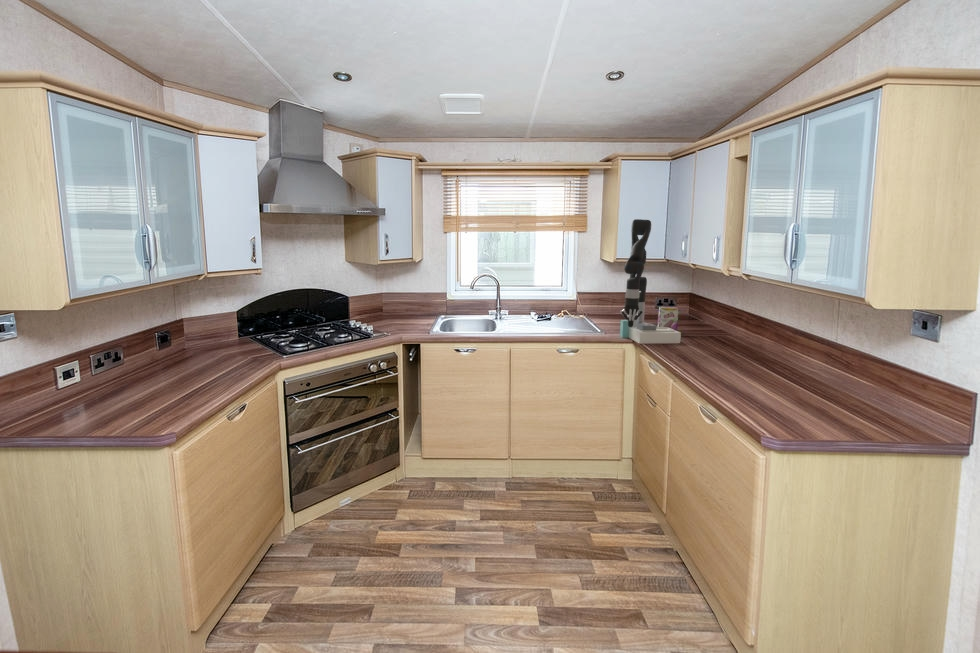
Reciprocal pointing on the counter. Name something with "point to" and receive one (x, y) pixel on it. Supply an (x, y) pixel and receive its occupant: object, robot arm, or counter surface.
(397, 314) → the counter surface
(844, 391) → the counter surface
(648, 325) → the shutter
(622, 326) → the plug
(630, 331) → the white tray
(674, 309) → the candy bar box
